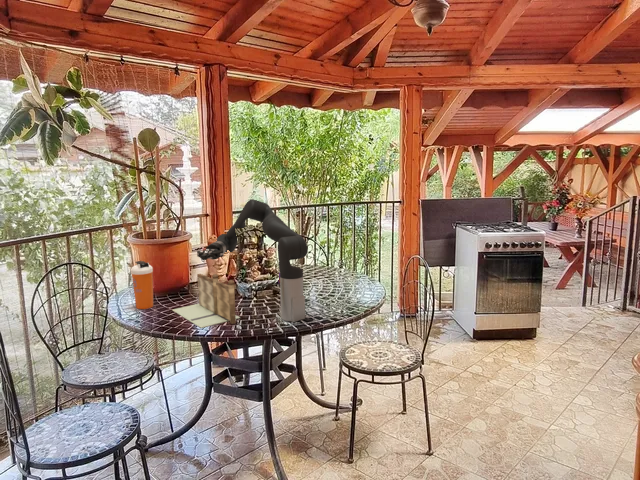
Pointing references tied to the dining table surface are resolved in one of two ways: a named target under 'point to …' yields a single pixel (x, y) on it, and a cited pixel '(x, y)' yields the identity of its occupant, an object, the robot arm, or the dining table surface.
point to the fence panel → (206, 291)
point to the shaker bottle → (143, 284)
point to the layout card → (200, 315)
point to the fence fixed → (224, 299)
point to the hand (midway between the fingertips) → (203, 257)
